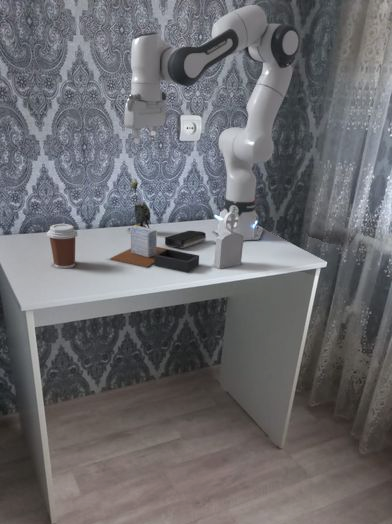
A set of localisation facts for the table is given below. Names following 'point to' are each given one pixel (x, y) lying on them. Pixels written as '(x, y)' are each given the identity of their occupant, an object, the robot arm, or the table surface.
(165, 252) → the frame
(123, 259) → the desk pad
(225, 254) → the gravestone
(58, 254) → the coffee cup
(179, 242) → the black sponge
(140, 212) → the plant with pod
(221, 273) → the table surface
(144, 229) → the medicine box
